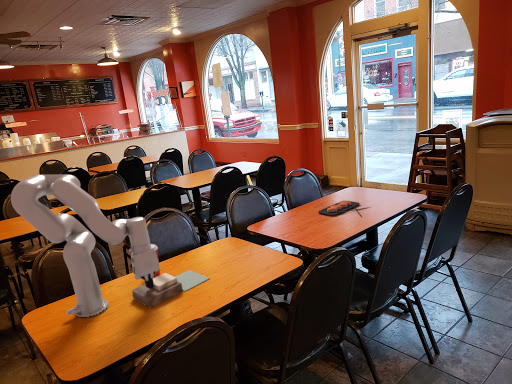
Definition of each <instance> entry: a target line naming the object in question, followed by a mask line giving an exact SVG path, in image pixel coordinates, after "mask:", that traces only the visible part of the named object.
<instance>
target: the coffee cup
mask: <svg viewBox="0 0 512 384" xmlns="http://www.w3.org/2000/svg"><path fill="white" fill-rule="evenodd" d="M150 244H151V247H153V248H154V250H155V252H156V255H157V258H158V261H159V255H158V248H159V247H158V246H157V245H156V244H154V243H150ZM157 265H158V264H157ZM160 275H161V270H160V267H159V270H158V271H157V272H155V274H154V277H153V278H155V277H157V276H160ZM147 276H148V274H147Z"/></svg>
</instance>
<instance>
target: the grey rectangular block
mask: <svg viewBox="0 0 512 384" xmlns="http://www.w3.org/2000/svg"><path fill="white" fill-rule="evenodd" d="M182 291H183V289H182V284H181V283H180V282H178V281H177V282H176V283H174V284H172V285H170V286H168V287H166V288H164V289H162V290H160V291H158V290H157V289H155V288H151V289H149V288H147V287H146V285H145V283H144V284H142V285H140V286H137V287H135V288H133V289H131V292H132V293H131V294H132V297H133V299H134V298H135V299H136V300H135V299H134V300H135V301H137V300H138V301H137V302H139V301H140V302H141V304H142V303H143V304H142V305H144V304H145V305H146V306H145V305H144V306H145V307H147V306H148V307H147V308H149V307H152V308H154V307H156V306H158V305H159V303H160V304H162V303H163V301H164V302H165V301H167V300H169V299H171V298H173V297H175V296H177V295H179V294H181V293H182ZM180 292H181V293H180ZM183 292H184V291H183ZM140 302H139V303H140ZM161 302H162V303H161ZM157 304H158V305H157ZM155 305H156V306H155ZM153 306H154V307H153Z"/></svg>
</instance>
